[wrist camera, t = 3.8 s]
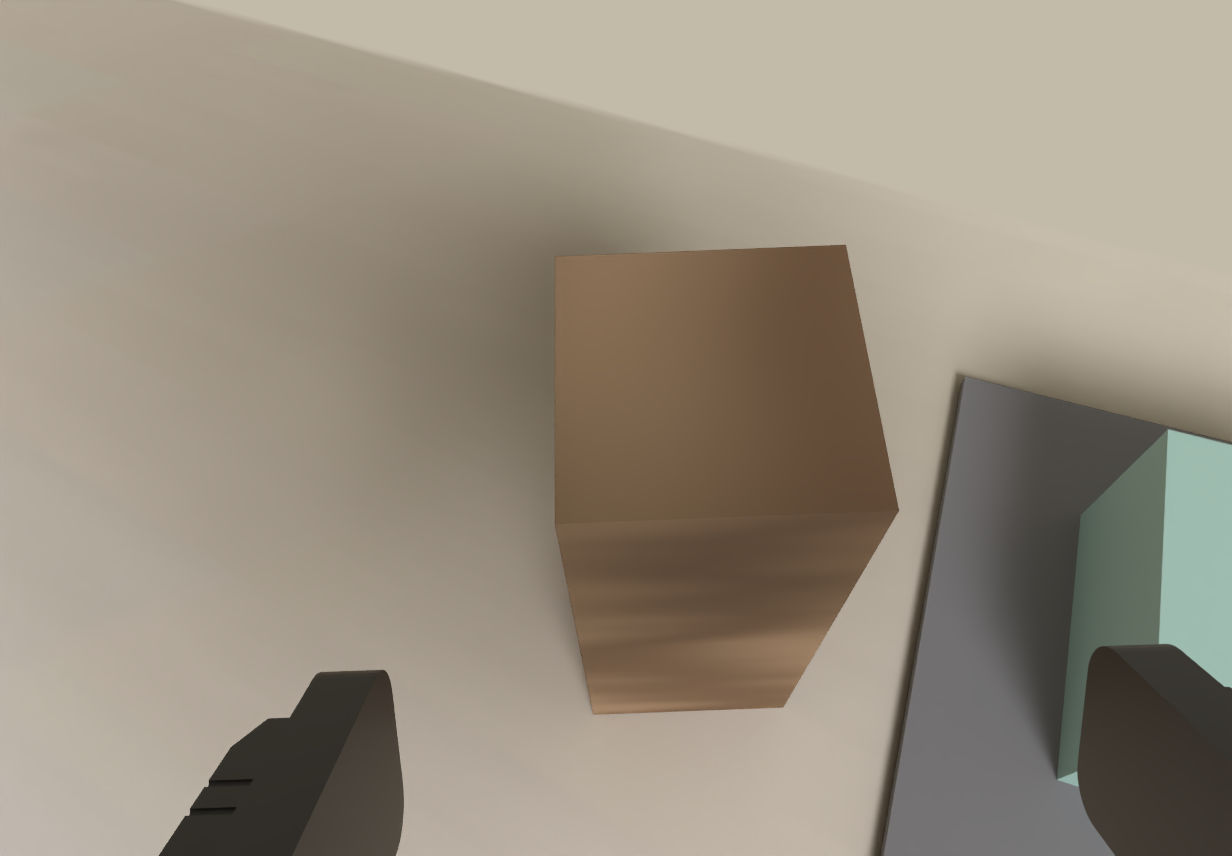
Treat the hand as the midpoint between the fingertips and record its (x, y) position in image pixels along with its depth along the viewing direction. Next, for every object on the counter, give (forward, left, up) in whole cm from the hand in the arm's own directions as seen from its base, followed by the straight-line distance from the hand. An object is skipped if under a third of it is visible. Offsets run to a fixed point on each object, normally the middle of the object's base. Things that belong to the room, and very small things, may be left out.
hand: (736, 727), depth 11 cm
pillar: (-1, +4, -9) cm, 10 cm away
